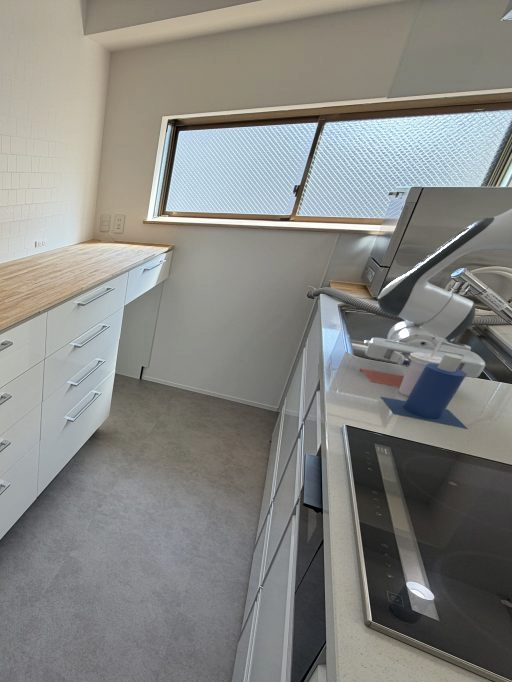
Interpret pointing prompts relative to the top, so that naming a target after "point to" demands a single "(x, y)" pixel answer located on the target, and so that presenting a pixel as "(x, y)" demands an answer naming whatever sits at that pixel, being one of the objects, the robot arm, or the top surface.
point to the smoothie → (417, 368)
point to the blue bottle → (435, 387)
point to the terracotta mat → (383, 377)
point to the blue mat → (398, 409)
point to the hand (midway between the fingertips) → (426, 366)
